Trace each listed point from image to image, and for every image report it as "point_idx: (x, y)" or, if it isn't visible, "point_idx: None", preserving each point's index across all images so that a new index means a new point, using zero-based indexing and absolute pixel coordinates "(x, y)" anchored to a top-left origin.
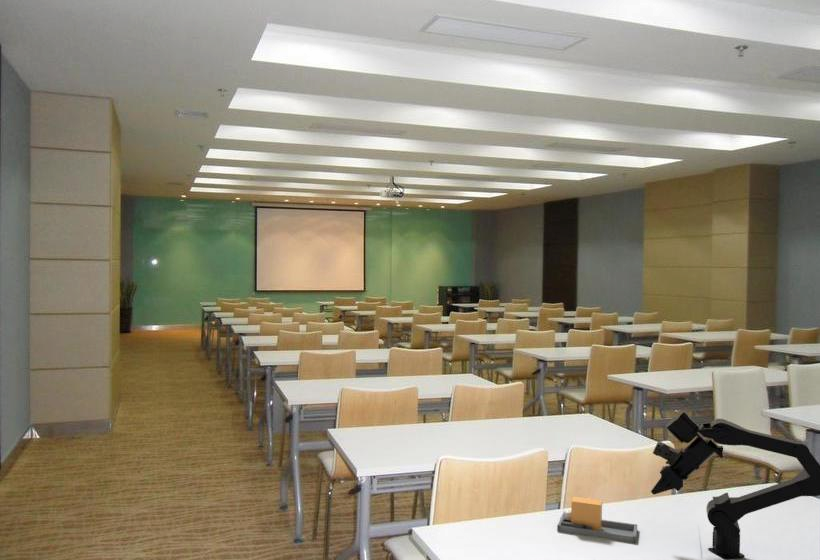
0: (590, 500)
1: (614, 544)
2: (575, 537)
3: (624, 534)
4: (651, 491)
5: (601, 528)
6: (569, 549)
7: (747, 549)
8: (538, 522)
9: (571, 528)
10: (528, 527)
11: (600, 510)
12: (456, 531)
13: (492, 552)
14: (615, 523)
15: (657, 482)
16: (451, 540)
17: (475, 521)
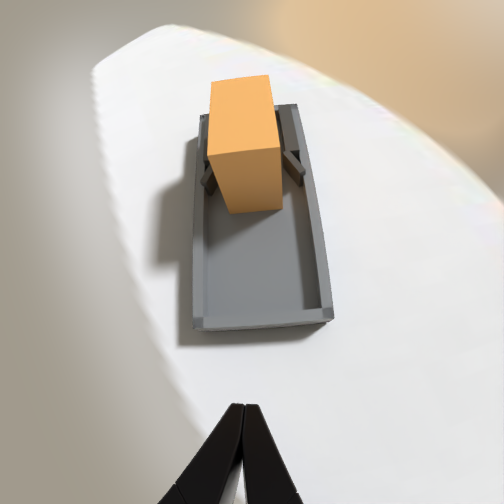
0: (252, 116)
1: None
2: None
3: (260, 285)
4: (230, 407)
5: (276, 209)
6: (129, 177)
7: None
8: None
9: (198, 143)
10: None
11: (212, 168)
12: (167, 42)
13: (98, 97)
14: (313, 241)
15: (200, 487)
16: (133, 54)
17: (218, 37)
